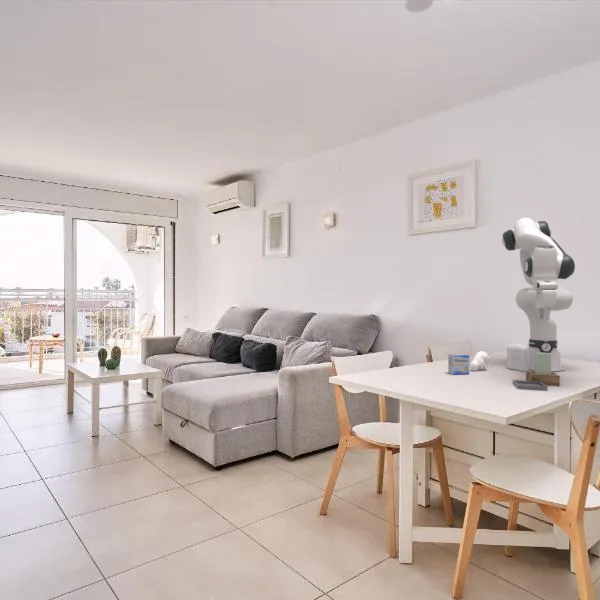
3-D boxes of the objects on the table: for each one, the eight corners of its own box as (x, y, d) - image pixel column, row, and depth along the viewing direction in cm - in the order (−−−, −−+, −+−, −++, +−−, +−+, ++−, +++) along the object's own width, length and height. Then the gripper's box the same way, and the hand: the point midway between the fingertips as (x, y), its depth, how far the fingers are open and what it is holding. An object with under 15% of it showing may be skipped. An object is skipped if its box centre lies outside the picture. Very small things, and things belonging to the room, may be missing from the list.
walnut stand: (525, 379, 190) (525, 370, 190) (552, 381, 187) (552, 371, 187) (531, 384, 180) (531, 374, 180) (559, 386, 178) (559, 375, 177)
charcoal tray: (512, 383, 181) (512, 380, 181) (540, 385, 178) (540, 381, 178) (518, 389, 171) (518, 385, 171) (547, 390, 169) (547, 386, 169)
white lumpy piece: (490, 351, 214) (477, 355, 206) (491, 369, 214) (478, 374, 207) (478, 349, 218) (464, 354, 211) (478, 367, 219) (465, 372, 212)
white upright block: (530, 371, 211) (531, 344, 211) (524, 372, 209) (525, 345, 209) (511, 368, 220) (511, 342, 220) (505, 368, 218) (505, 342, 218)
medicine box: (453, 375, 199) (453, 355, 199) (447, 373, 203) (448, 353, 203) (469, 374, 201) (469, 355, 200) (463, 372, 205) (464, 353, 205)
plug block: (533, 371, 187) (534, 352, 186) (547, 372, 185) (547, 352, 185) (536, 373, 182) (537, 353, 182) (550, 374, 181) (551, 354, 180)
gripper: (531, 286, 194) (531, 318, 194) (540, 284, 175) (540, 320, 175) (548, 286, 192) (548, 318, 192) (559, 284, 173) (558, 320, 173)
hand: (544, 319), depth 183 cm, fingers open, 8 cm apart
